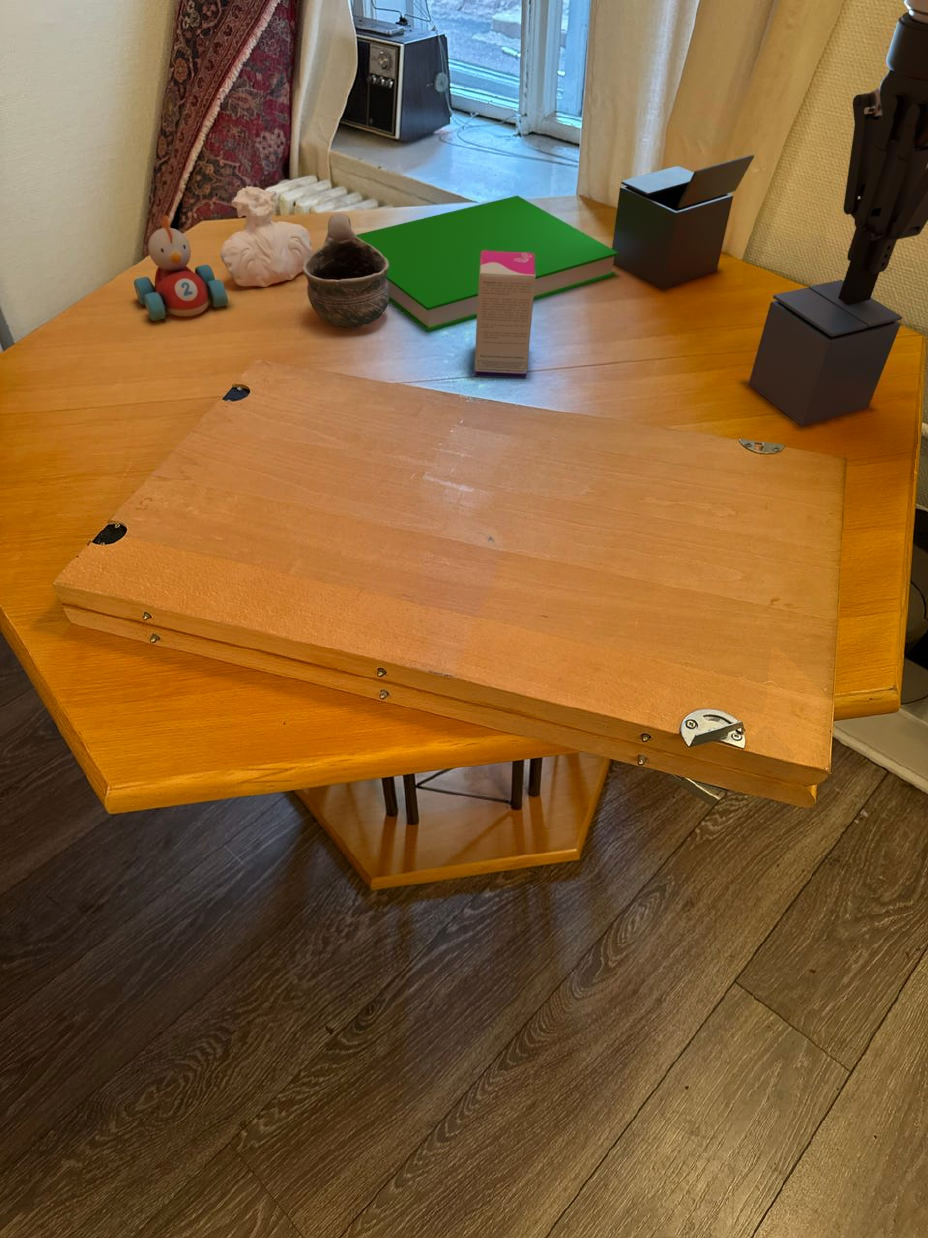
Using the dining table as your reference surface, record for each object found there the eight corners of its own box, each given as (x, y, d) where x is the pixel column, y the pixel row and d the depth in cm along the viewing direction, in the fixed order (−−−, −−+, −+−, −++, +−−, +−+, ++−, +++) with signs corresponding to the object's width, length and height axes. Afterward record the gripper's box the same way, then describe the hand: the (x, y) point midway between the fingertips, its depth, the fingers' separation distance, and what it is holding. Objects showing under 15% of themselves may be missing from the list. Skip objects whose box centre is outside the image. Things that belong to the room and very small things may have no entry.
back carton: (717, 270, 116) (735, 189, 108) (662, 289, 112) (677, 206, 104) (663, 244, 121) (677, 165, 114) (610, 261, 117) (620, 180, 110)
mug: (318, 345, 101) (308, 257, 94) (296, 296, 109) (285, 212, 102) (400, 332, 103) (397, 246, 96) (372, 286, 111) (367, 203, 104)
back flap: (734, 189, 108) (735, 190, 108) (677, 206, 104) (678, 208, 104) (753, 153, 104) (754, 155, 104) (694, 170, 100) (696, 172, 100)
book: (615, 275, 114) (618, 252, 112) (427, 332, 103) (427, 307, 101) (514, 215, 127) (515, 194, 125) (338, 260, 116) (335, 237, 114)
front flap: (840, 282, 92) (841, 279, 91) (901, 319, 86) (902, 316, 86) (807, 289, 90) (808, 286, 90) (868, 327, 85) (869, 324, 85)
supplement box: (528, 378, 96) (535, 275, 88) (473, 376, 96) (476, 273, 88) (528, 351, 100) (535, 250, 92) (475, 350, 100) (477, 248, 92)
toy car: (155, 328, 103) (133, 242, 96) (136, 297, 108) (113, 213, 101) (232, 311, 106) (216, 226, 99) (209, 281, 111) (193, 199, 104)
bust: (312, 279, 117) (278, 192, 115) (331, 261, 110) (296, 168, 108) (227, 303, 112) (190, 212, 110) (242, 285, 105) (203, 188, 103)
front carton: (812, 367, 99) (841, 279, 91) (868, 407, 93) (903, 316, 86) (748, 384, 96) (772, 294, 89) (801, 426, 90) (832, 334, 83)
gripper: (857, 1, 74) (781, 278, 91) (979, 39, 66) (871, 336, 83) (925, -6, 76) (838, 265, 93) (1052, 30, 68) (932, 320, 85)
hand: (854, 298), depth 88 cm, fingers closed
